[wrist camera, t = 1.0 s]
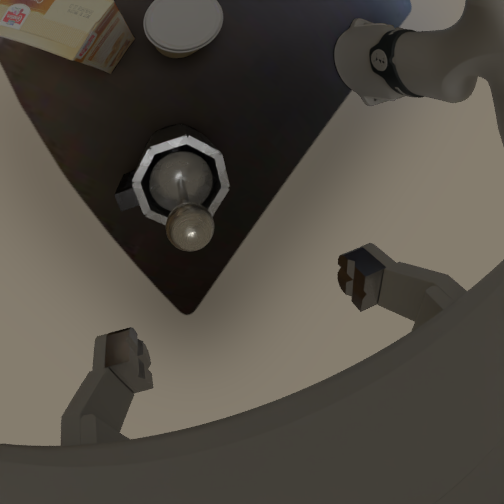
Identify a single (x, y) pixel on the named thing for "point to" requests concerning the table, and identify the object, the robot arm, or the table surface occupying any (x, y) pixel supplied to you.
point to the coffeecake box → (69, 29)
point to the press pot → (160, 144)
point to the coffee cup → (182, 25)
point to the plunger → (184, 198)
